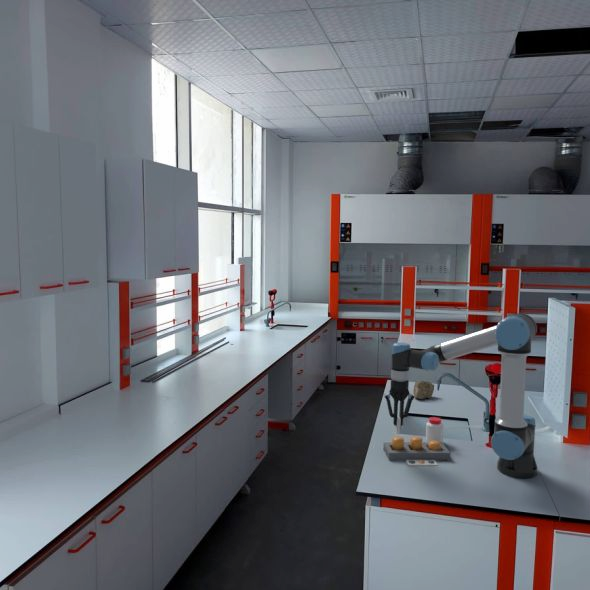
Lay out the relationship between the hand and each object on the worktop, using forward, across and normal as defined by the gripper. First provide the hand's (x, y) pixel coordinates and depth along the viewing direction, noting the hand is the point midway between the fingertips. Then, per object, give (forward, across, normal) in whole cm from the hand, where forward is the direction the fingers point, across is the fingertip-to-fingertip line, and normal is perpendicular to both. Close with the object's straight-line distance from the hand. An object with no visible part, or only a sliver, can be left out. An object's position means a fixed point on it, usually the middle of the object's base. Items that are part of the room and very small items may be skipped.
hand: (397, 432), depth 239 cm
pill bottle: (+10, -20, -14) cm, 26 cm away
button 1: (+7, 0, 0) cm, 7 cm away
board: (+10, -8, 0) cm, 13 cm away
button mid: (+7, -8, 0) cm, 11 cm away
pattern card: (+10, -8, +10) cm, 16 cm away
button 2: (+9, -16, 0) cm, 18 cm away
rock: (+10, -34, -84) cm, 91 cm away
